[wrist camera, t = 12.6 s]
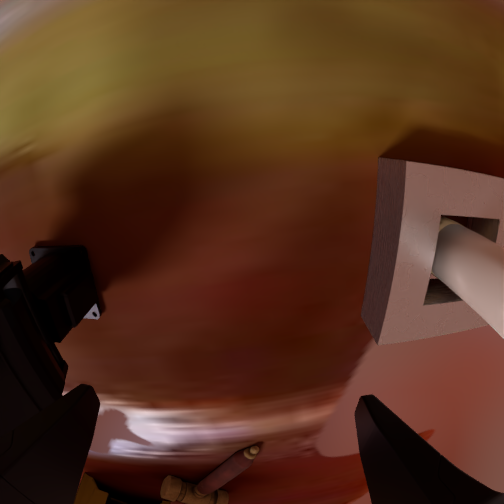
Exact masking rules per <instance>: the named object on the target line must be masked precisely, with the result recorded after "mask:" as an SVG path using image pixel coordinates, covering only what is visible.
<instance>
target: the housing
mask: <svg viewBox="0 0 504 504" xmlns="http://www.w3.org/2000/svg"><path fill="white" fill-rule="evenodd" d="M441 215H453V216H467V217H468V222H467V228H468V229H470V230H472V231H474V232H476V233H478V234H480V235H482V236H483V237H485V238H487V239H489V240H491V241H493V242H495V243H496V244H498V245H500V246H502V247H504V178H500V177H496V176H492V175H488V174H483V173H479V172H474V171H469V170H464V169H458V168H453V167H447V166H441V165H435V164H428V163H421V162H414V161H406V160H398V159H390V158H380V157H379V160H378V183H377V198H376V211H375V222H374V232H373V241H372V249H371V257H370V264H369V271H368V278H367V284H366V290H365V296H364V301H363V307H362V312H361V317H362V319H363V320H364V322H365V324H366V326H367V327H368V329H369V331H370V333H371V334H372V336H373V338H374V340H375V342H376V343H377V345H384V344H391V343H398V342H405V341H411V340H418V339H424V338H430V337H435V336H441V335H445V334H451V333H455V332H460V331H465V330H469V329H474V328H478V327H482V326H486V325H489V324H488V323H487V322H486V321H485V320H484V319H483V318H482V317H481V316H480V315H479V314H478V313H477V312H476V311H475V310H473V309H472V308H471V307H470V306H469V305H468V304H467V303H466V302H465V301H464V300H463V299H461V298H460V297H459V296H458V295H457V294H456V293H455V292H454V291H452V290H451V289H450V288H449V287H448V286H447V285H446V284H444V283H443V282H442V281H441V280H440V279H439V278H438V279H430V275H431V270H432V265H433V261H434V255H435V250H436V245H437V239H438V233H439V226H440V219H441Z"/></svg>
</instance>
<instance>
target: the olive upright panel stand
mask: <svg viewBox="0 0 504 504" xmlns="http://www.w3.org/2000/svg"><path fill="white" fill-rule="evenodd" d="M170 502H171V501H162V503H161V504H170ZM74 504H129V503H126V502H123V501H120V500H117V499H114V498H111V497H110V496H109V493H106V492H103V491H101V490H99V489H98V487H97V485H96V483H95V481H94V479H93V478H92V477H90V476H88V475H87V474H85V473H84V475H83V478H82V480H81V483H80V486H79V488H78V491H77V494H76V497H75V500H74Z"/></svg>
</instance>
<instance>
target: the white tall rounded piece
mask: <svg viewBox="0 0 504 504" xmlns="http://www.w3.org/2000/svg"><path fill="white" fill-rule="evenodd" d="M431 273H432V274H433V275H434V276H435V277H437V278H439V279H440V280H441V281H442V282H443V283H444V284H446V285H447V286H448V287H449V288H450V289H451V290H452V291H454V292H455V293H456V294H457V295H458V296H459V297H460V298H461V299H463V300H464V301H465V302H466V303H467V304H468V305H469V306H470V307H471V308H472V309H473V310H475V311H476V312H477V313H478V314H479V315H480V316H481V317H482V318H483V319H484V320H485V321H486V322H487V323H488V324H489V325H490V326H491V327H492V328H493V329H494V330H495V331H496V332H497V333H498V334H499V335H500V336H501V337H502V338H503V339H504V247H502V246H500V245H498V244H496V243H495V242H493V241H491V240H489V239H487V238H485V237H483V236H482V235H480V234H478V233H476V232H474V231H472V230H470V229H468V228H466V227H464V226H463V225H461V224H459V223H457V222H455V221H453V220H451V219H449V218H447V217H444V216H441V219H440V226H439V233H438V239H437V245H436V250H435V255H434V261H433V265H432V270H431Z"/></svg>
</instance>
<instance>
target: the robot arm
mask: <svg viewBox="0 0 504 504" xmlns="http://www.w3.org/2000/svg"><path fill="white" fill-rule="evenodd" d="M79 250H80V251H81V252H82V254H81V253H80V252H79ZM29 253H30V258H31V262H32V264H31V265H30V266H29V267H27V268H26V269H24V270H22V269H23V266H22V263H21V261H20V260H19V261H15V262H10V260H8V259H7V258H6V257H5V256H4V255H3V254H0V504H74V500H75V497H76V493H77V489H78V486H79V482H80V479H81V475H82V472H83V468H84V465H85V462H86V459H87V455H88V452H89V449H90V446H91V443H92V439H93V435H94V430H95V426H96V421H97V417H98V412H99V408H100V401H99V399H98V397H97V395H96V393H95V391H94V389H93V387H92V386H90V385H86V384H80V385H79V386H77V387H76V388H74V389H73V390H71V391H70V392H68V393H67V394H65V395H64V396H63V395H62V393H63V389H64V385H65V378H66V374H67V370H68V365H67V363H66V361H65V360H63V358H62V356H61V355H60V353H59V351H58V349H57V347H56V345H55V342H58V343H61V341H62V340H63V339H64V338H65V336H66V335H67V334H68V333H69V331H70V330H71V329H72V328H73V327H74V328H75V327H76V326H77V325H78V324H79V323H80V322H81V320H82V319H83V318H89V319H98V318H99V317H100V316H101V309H100V306H99V302H98V296H97V292H96V288H95V284H94V280H93V276H92V273H91V269H90V265H89V260H88V255H87V250H86V248H85V247H84V246H82V245H71V246H41V247H33V248H31V249H30V251H29ZM34 253H35V254H34ZM95 312H96V313H97V314H95ZM355 422H356V429H357V437H358V444H359V452H360V457H361V461H362V465H363V469H364V473H365V477H366V481H367V485H368V489H369V493H370V498H371V502H372V504H504V493H501V492H497V491H494V490H492V489H490V488H488V487H487V486H485V485H484V484H482V483H480V482H479V481H477V480H475V479H474V478H472V477H471V476H469V475H468V474H466V473H464V472H463V471H462V470H460V469H459V468H457V467H456V466H455V465H454V464H452V463H451V462H450V461H449V460H447V459H446V458H445V457H444V456H443V455H440V453H439V452H438V451H437V450H436V449H434V448H433V447H432V446H431V445H430V444H428V443H427V442H426V441H425V440H424V439H423V438H422V437H421V436H419V435H418V434H417V433H416V432H415V431H414V430H412V429H411V428H410V427H409V426H408V425H407V424H406V423H405V422H403V421H402V420H401V419H400V418H399V417H398V416H397V415H396V414H394V413H393V412H392V411H391V410H390V409H389V408H387V406H385V405H384V404H383V403H382V402H381V401H380V400H379V399H378V398H377V397H375V396H374V395H365V396H361V397H360V399H359V402H358V405H357V407H356V410H355Z"/></svg>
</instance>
